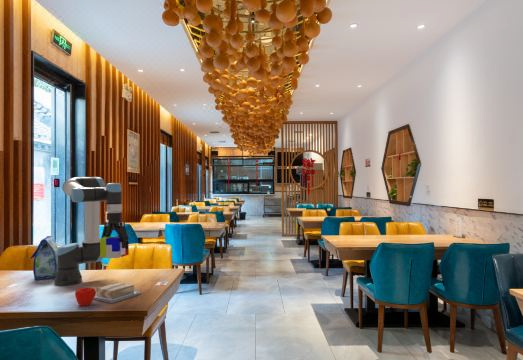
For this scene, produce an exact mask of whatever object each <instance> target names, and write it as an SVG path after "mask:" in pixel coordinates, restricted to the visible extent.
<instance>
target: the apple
mask: <svg viewBox="0 0 523 360" xmlns="http://www.w3.org/2000/svg"><path fill="white" fill-rule="evenodd" d="M74 294H75V299H76V302H77V304H78V305H79V306H80V307H87V306H90V305H91V304H92V303H93V301H94V297H95V295H97V290H96V289H95V288H94V287H82V288H79V289H76V290H75V292H74Z"/></svg>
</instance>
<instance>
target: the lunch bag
mask: <svg viewBox="0 0 523 360" xmlns="http://www.w3.org/2000/svg"><path fill="white" fill-rule="evenodd" d="M58 248H59V247H58V243H57V242H56V239H55V238H54V236H51V235H47V236H45V238H42V239H41V240H40V242H39V244H37V246H36V249H35V251H34V252H33V253H32V255H31V256H30V259H33V265H32V266H33V267H32V270H33V278H34V280H35V281H39V280H44V279H48V278H49V279H55V277H56V274H57V271H58V257H57V251H58ZM38 279H39V280H38Z"/></svg>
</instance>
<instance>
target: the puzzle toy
mask: <svg viewBox="0 0 523 360" xmlns="http://www.w3.org/2000/svg"><path fill="white" fill-rule="evenodd" d="M104 237H105V236H104ZM120 241H121V240H120V238H119V236H118V235H111V236H110V237H105V238H101V237H100V258H103V259H119V258H123V257H127V256H129V253H130V252H129V247H130V246H129V245H130V244H129V240H127V241H126V248H125V254H123V255H120Z"/></svg>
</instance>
